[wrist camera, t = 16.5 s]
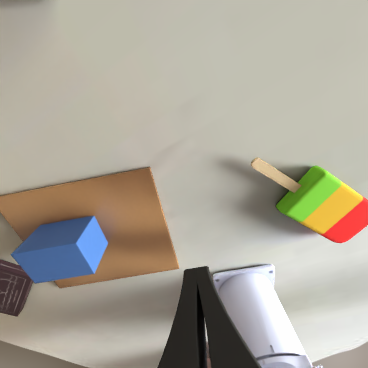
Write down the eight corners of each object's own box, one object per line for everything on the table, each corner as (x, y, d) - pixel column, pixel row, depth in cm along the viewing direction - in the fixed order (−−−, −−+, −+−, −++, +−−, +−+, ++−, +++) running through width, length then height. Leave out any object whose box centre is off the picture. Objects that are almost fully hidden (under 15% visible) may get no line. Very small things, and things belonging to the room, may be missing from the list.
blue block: (94, 274, 18) (35, 283, 18) (108, 243, 21) (58, 251, 22) (76, 243, 16) (10, 254, 16) (94, 215, 19) (40, 224, 20)
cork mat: (179, 266, 24) (179, 268, 24) (60, 286, 25) (59, 288, 24) (150, 166, 18) (149, 168, 17) (-8, 197, 18) (-11, 198, 18)
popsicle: (329, 236, 23) (341, 248, 21) (231, 180, 19) (237, 189, 17) (369, 202, 21) (386, 212, 19) (269, 132, 17) (280, 136, 15)
